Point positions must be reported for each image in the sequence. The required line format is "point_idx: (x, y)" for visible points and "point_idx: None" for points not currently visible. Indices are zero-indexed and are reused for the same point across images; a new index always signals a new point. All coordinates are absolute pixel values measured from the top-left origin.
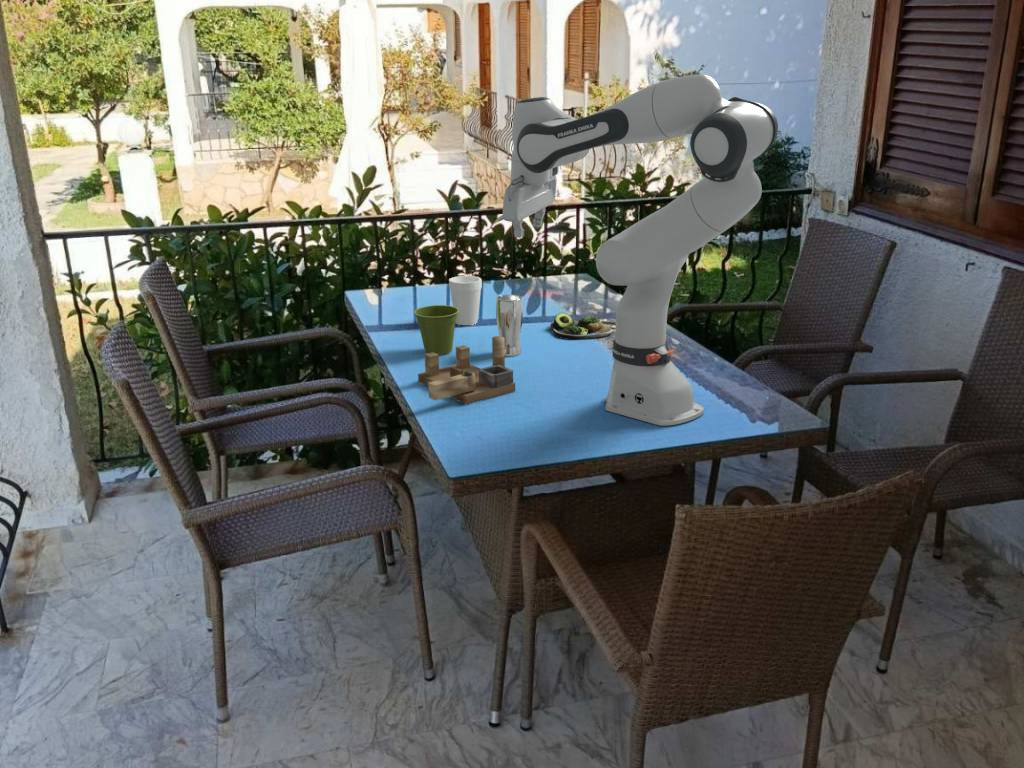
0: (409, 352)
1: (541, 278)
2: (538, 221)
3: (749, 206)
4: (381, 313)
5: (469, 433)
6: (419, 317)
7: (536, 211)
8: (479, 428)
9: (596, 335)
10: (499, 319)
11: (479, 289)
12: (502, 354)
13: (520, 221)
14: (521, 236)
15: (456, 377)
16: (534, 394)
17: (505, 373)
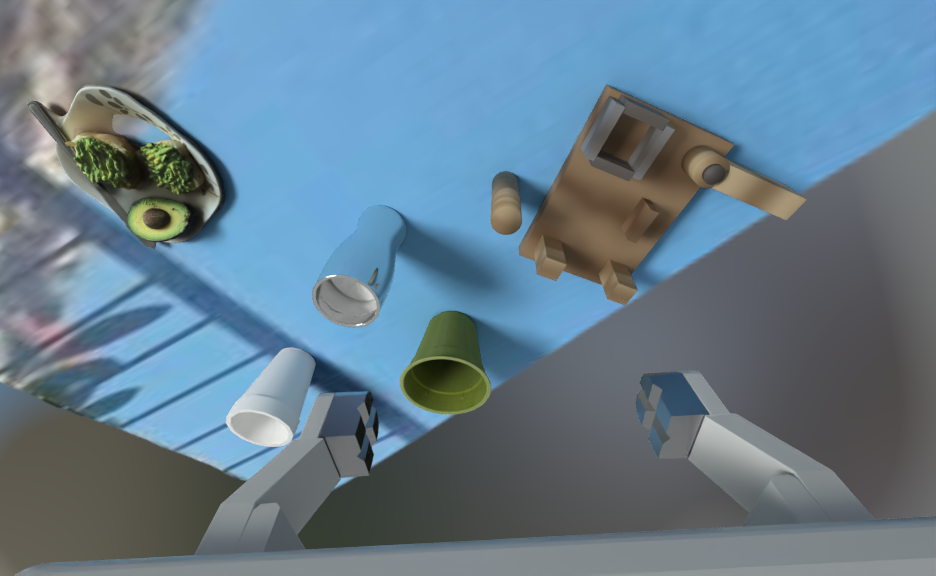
0: None
1: (3, 378)
2: (359, 434)
3: None
4: None
5: (932, 23)
6: (484, 393)
7: (516, 548)
8: (894, 19)
9: (148, 108)
10: (392, 280)
11: (253, 395)
12: (510, 190)
13: (851, 502)
14: (695, 373)
15: (738, 186)
16: (613, 23)
17: (645, 109)
